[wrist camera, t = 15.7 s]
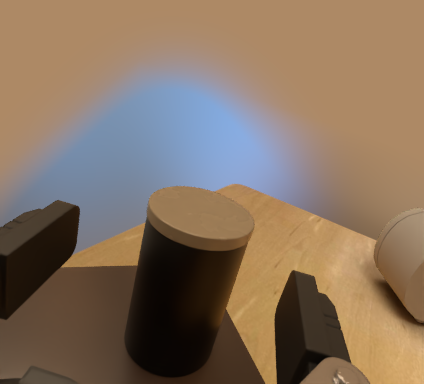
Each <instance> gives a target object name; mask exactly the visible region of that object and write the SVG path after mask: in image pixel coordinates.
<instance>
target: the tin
mask: <svg viewBox="0 0 424 384" xmlns="http://www.w3.org/2000/svg"><path fill="white" fill-rule="evenodd" d="M254 225H255V224H254V219H253V217H252V215H251V214H250V213H249V211H248V210H247V209H246V208H244V207H243V206H242V205H241V204H239V203H237V202H236V201H234V200H232V199H230V198H228V197H226V196H224V195H221V194H219V193H216V192H213V191H209V190H205V189H201V188H195V187H185V186H175V187H167V188H163V189H160V190H158V191H156V192H154V193H153V194H152V195H151V197H150V198H149V202H148V207H147V219H146V224H145V229H144V234H143V239H142V245H141V250H140V255H139V260H138V266H137V271H136V276H135V281H134V287H133V292H132V297H131V302H130V308H129V313H128V318H127V323H126V329H125V334H124V340H125V346H126V349H127V351H128V353H129V355H130V356H131V358H132V359H133V360H134V361H135V363H136V364H138V365H139V366H140V367H141V368H143V369H144V370H146V371H148V372H150V373H152V374H155V375H158V376H162V377H170V378H171V377H183V376H186V375H190V374H192V373H194V372H196V371H197V370H199V369H200V368H201V367H202V366H204V364H205V363H206V362H207V361H208V359H209V357H210V355H211V352H212V349H213V346H214V343H215V340H216V337H217V334H218V331H219V328H220V325H221V322H222V319H223V316H224V313H225V310H226V307H227V304H228V301H229V298H230V295H231V292H232V289H233V286H234V283H235V280H236V277H237V274H238V271H239V268H240V265H241V262H242V259H243V256H244V253H245V250H246V247H247V244H248V241H249V240H250V238H251V235H252V232H253V230H254Z"/></svg>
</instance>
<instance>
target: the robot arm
mask: <svg viewBox="0 0 424 384" xmlns="http://www.w3.org/2000/svg"><path fill="white" fill-rule="evenodd" d="M79 215H80V209H79V207H78V206H76V205H73V204H70V203H66V202H63V201H59V200H57V201H55V202H53V203H52V204H50V205H49V206H47V207H46V208H44V209H36V210H33V211H29V212H26V213H23V214H21V215H20V216H18V217H17V218H15V219H13V221H10V222H8V223H7V224H5V225H4V226H3V227H0V319H4V320H7V319H8V318H9V317H10V316H11V315H12V314H13V313H14V312H15V311H16V310H17V309H18V308H19V307H21V306H22V305H23V304H24V303H25V302H26V301H27V300H28V299H29V298H30V297H31V296H32V295H33V294H34V293H35V292H36V291H37V290H38V289H39V288H40V287H41V286H42V285H43V284H44V283H45V282H46V281H47V280H48V279H49V278H50V277H51V276H52V275H53V274H54V273H55V272H56V271H57V270H58V269H59V268H60V267H61V266H62V265H63V264H64V263H65V262H66V261H67V260H68V259H69V258H70V257H71V255H72V254H73V252H74V250H75V247H76V243H77V234H78V225H79V224H78V223H79ZM275 345H276V370H277V384H370V382H369V381H368V379H367V378H366V377H365V375H364V374H363V373H362V372H361V371H360V370H359V369H358V368H357V367H355V366H354V365H352V364H351V360H350V357H349V353H348V350H347V347H346V343H345V340H344V336H343V333H342V330H341V326H340V323H339V320H338V316H337V313H336V309H335V306H334V305H333V303H332V302H331V301H330V299H329V298H328V297H327V295H326V294H322V293H319V292H318V289H317V285H316V281H315V277H314V276H311V275H308V274H305V273H301V272H298V271H294V270H293V271H292V272H291V273H290V275H289V278H288V280H287V283H286V285H285V288H284V290H283V293H282V295H281V297H280V300H279V302H278V305H277V308H276V313H275ZM0 384H79V383H77V382H76V381H74V380H73V379H71V378H70V377H67V376H64V375H60V374H57V373H54V372H51V371H48V370H45V369H42V368H39V367H36V366H32V365H31V366H30V367H29V369H28V370H27V371H26V373H25V374H24V375H23V376H22V378H10V379H1V380H0Z"/></svg>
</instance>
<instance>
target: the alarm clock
mask: <svg viewBox="0 0 424 384" xmlns="http://www.w3.org/2000/svg"><path fill="white" fill-rule="evenodd" d="M374 260H375V263H376V266H377V268H378V269H379V271H380V272H381V274H382V275H383V276H384V278H385V279H386V281H387V282H388V283H389V285H390V286H391V288H392V289H393V291H394V292H395V293H396V295H397V296H398V298H399V299H400V300H401V302H402V303H403V305H404V306H405V308H406V309H407V310H408V311H409V312H410V313H411V315H412V316H413V317H414V318H415V320H416V321H417V322H420V323H424V209H421V208H416V209H412V210H408V211H404V212H403V213H401V214H399V215H397V216H396V217H394V218H393V219H392V220H391V221H390V222H389V223H388V224H387V225H386V226H385V227H384V229H383V231H382V232H381V234H380V235H379V237H378V239H377V242H376V245H375V249H374Z"/></svg>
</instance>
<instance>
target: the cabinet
mask: <svg viewBox="0 0 424 384" xmlns="http://www.w3.org/2000/svg"><path fill="white" fill-rule="evenodd" d="M136 271H137V266H101V267H64V268H59V269H58V270H57V271H56V272H55V273H54V274H53V275H52V276H51V277H50V278H49V279H48V280H47V281H46V282H45V283H44V284H43V285H42V286H41V287H40V288H39V289H38V290H37V291H36V292H35V293H34V294H33V295H32V296H31V297H30V298H29V299H28V300H27V301H26V302H25V303H24V304H23V305H22V306H21V307H19V308H18V309H17V310H16V311H15V312H14V313H13V314H12V315H11V316H10V317H9V318H8V319H7V320H4V319H0V380H1V379H10V378H22V376H23V375H24V374H25V373H26V371H27V370H28V369H29V367H30V366H31V365H32V366H36V367H39V368H42V369H45V370H48V371H51V372H54V373H57V374H60V375H64V376H67V377H70V378H71V379H73V380H74V381H76V382H77V383H79V384H265V382H264V380H263V379H262V377H261V375H260V373H259V371H258V369H257V367H256V365H255V363H254V361H253V360H252V358H251V356H250V354H249V352H248V350H247V348H246V346H245V344H244V342H243V341H242V339H241V337H240V335H239V333H238V331H237V329H236V327H235V325H234V323H233V322H232V320H231V318H230V316H229V314H228V312H227V310H225V313H224V316H223V319H222V322H221V325H220V328H219V331H218V334H217V337H216V340H215V343H214V346H213V349H212V352H211V355H210V357H209V359H208V361H207V362H206V363H205V364H204V366H202V367H201V368H200V369H199V370H197V371H196V372H194V373H192V374H190V375H186V376H183V377H171V378H170V377H162V376H158V375H155V374H152V373H150V372H148V371H146V370H144V369H143V368H141V367H140V366H139V365H138V364H136V363H135V361H134V360H133V359H132V358H131V356H130V355H129V353H128V351H127V349H126V346H125V340H124V334H125V329H126V323H127V318H128V313H129V308H130V302H131V297H132V292H133V287H134V281H135V276H136Z"/></svg>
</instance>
